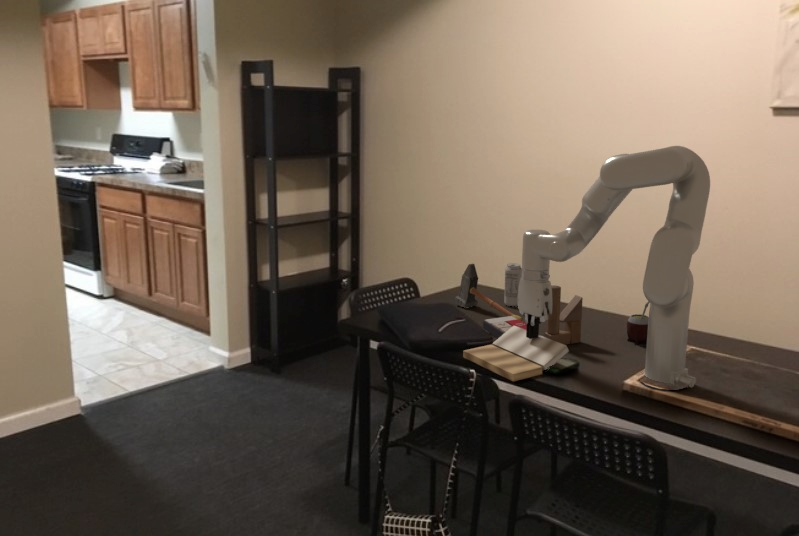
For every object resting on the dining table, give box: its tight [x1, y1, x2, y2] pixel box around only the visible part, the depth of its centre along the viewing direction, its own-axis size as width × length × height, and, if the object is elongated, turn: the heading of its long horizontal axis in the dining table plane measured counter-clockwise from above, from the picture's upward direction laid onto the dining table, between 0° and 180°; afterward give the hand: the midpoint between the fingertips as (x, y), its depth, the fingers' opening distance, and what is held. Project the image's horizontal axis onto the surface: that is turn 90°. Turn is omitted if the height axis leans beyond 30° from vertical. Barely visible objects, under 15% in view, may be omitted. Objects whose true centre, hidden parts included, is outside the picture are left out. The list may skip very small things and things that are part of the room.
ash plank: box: [491, 326, 570, 371], centre depth 199 cm, size 22×9×2 cm, turn 31°
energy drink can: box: [503, 262, 522, 306], centre depth 253 cm, size 6×6×15 cm
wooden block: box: [543, 285, 584, 345], centre depth 211 cm, size 4×11×18 cm, turn 111°
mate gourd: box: [626, 300, 650, 346], centre depth 211 cm, size 8×8×15 cm
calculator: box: [482, 316, 527, 339], centre depth 221 cm, size 11×4×15 cm
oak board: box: [462, 344, 543, 382], centre depth 194 cm, size 22×10×2 cm, turn 31°
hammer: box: [454, 263, 524, 322], centre depth 242 cm, size 6×16×30 cm
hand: (532, 337), depth 199 cm, fingers closed
